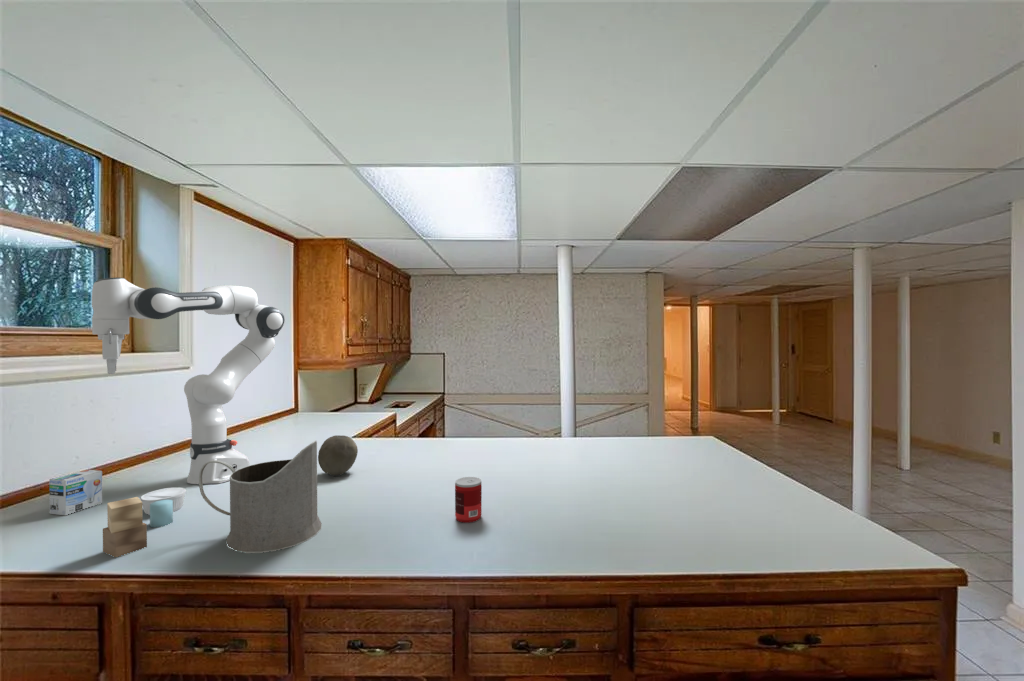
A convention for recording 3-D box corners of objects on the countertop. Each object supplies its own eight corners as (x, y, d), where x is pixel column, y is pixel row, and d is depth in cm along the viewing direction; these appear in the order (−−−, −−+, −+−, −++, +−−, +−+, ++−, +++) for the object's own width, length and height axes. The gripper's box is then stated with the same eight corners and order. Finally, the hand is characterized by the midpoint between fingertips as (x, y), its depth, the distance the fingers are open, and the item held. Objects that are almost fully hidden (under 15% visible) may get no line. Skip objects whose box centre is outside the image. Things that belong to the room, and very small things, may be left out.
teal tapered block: (169, 518, 136) (169, 498, 136) (175, 522, 133) (175, 502, 133) (147, 524, 132) (147, 503, 132) (153, 528, 129) (153, 507, 129)
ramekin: (136, 519, 135) (136, 502, 135) (145, 507, 145) (145, 490, 145) (182, 513, 141) (182, 495, 140) (188, 501, 150) (188, 485, 150)
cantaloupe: (349, 480, 172) (349, 440, 171) (311, 480, 172) (311, 440, 171) (362, 469, 186) (362, 432, 185) (327, 469, 186) (327, 432, 186)
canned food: (485, 514, 139) (485, 478, 139) (474, 524, 131) (474, 486, 131) (462, 511, 141) (462, 475, 141) (450, 521, 134) (450, 483, 134)
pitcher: (301, 552, 115) (300, 452, 115) (170, 555, 114) (169, 454, 113) (333, 515, 138) (332, 432, 138) (225, 517, 137) (224, 433, 136)
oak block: (137, 519, 121) (137, 496, 121) (142, 525, 117) (142, 502, 117) (107, 526, 116) (107, 502, 116) (111, 533, 112) (111, 509, 112)
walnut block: (133, 542, 121) (133, 519, 121) (146, 547, 118) (146, 523, 118) (102, 552, 115) (102, 528, 115) (115, 558, 112) (115, 533, 112)
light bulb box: (65, 516, 138) (65, 480, 138) (48, 514, 139) (47, 479, 139) (103, 503, 148) (103, 470, 148) (87, 501, 150) (86, 468, 150)
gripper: (123, 328, 139) (124, 374, 139) (124, 329, 154) (125, 370, 155) (95, 328, 135) (96, 375, 135) (99, 329, 150) (100, 371, 151)
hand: (112, 372), depth 145 cm, fingers open, 8 cm apart
